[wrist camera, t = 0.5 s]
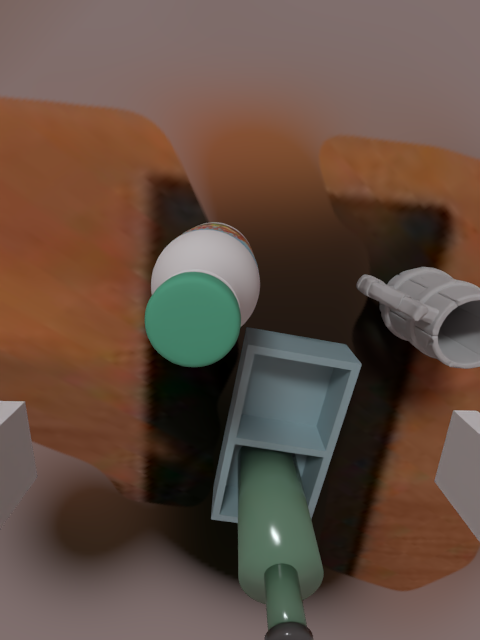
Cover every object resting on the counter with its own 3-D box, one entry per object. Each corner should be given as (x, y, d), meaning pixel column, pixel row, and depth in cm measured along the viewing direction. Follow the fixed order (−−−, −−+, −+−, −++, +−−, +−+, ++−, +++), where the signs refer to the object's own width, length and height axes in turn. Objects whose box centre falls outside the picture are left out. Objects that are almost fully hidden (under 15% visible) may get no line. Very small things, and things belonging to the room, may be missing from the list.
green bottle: (232, 478, 43) (230, 679, 25) (243, 430, 41) (250, 611, 23) (288, 486, 43) (326, 689, 25) (301, 439, 41) (354, 623, 23)
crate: (213, 485, 44) (211, 519, 39) (246, 327, 38) (248, 344, 33) (299, 497, 45) (307, 532, 40) (346, 344, 38) (361, 364, 34)
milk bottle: (264, 281, 36) (297, 366, 17) (196, 309, 37) (154, 419, 18) (235, 209, 34) (236, 212, 15) (163, 240, 35) (76, 281, 16)
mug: (424, 345, 38) (505, 403, 27) (328, 306, 37) (370, 351, 26) (463, 281, 36) (568, 315, 25) (362, 237, 35) (425, 253, 23)
